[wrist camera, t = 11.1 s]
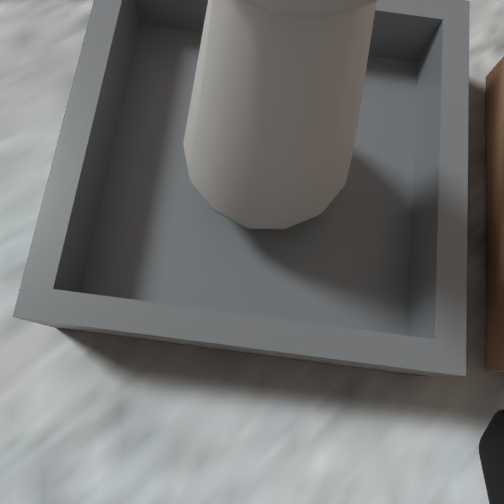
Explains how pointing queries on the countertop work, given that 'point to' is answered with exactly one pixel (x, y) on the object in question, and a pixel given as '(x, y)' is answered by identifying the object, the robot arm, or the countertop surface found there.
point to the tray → (260, 240)
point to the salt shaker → (276, 106)
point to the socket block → (495, 218)
